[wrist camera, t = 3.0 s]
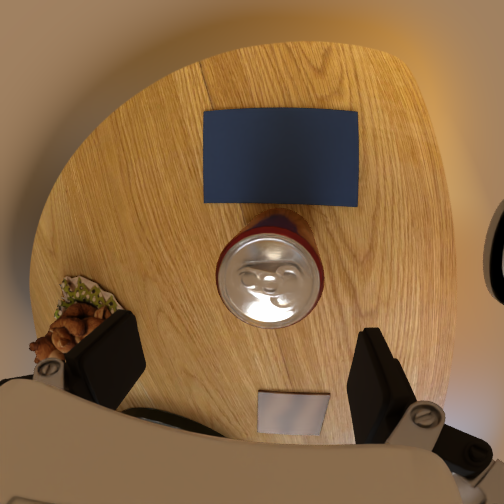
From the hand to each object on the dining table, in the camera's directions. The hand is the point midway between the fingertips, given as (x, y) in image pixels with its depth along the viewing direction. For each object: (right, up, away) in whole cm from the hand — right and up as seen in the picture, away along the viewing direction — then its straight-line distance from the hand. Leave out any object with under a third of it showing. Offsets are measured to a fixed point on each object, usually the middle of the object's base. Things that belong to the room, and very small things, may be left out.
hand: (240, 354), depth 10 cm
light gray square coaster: (+6, -20, +25) cm, 33 cm away
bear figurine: (-23, -6, +26) cm, 36 cm away
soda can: (+3, +5, +19) cm, 20 cm away
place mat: (+3, +14, +16) cm, 21 cm away
